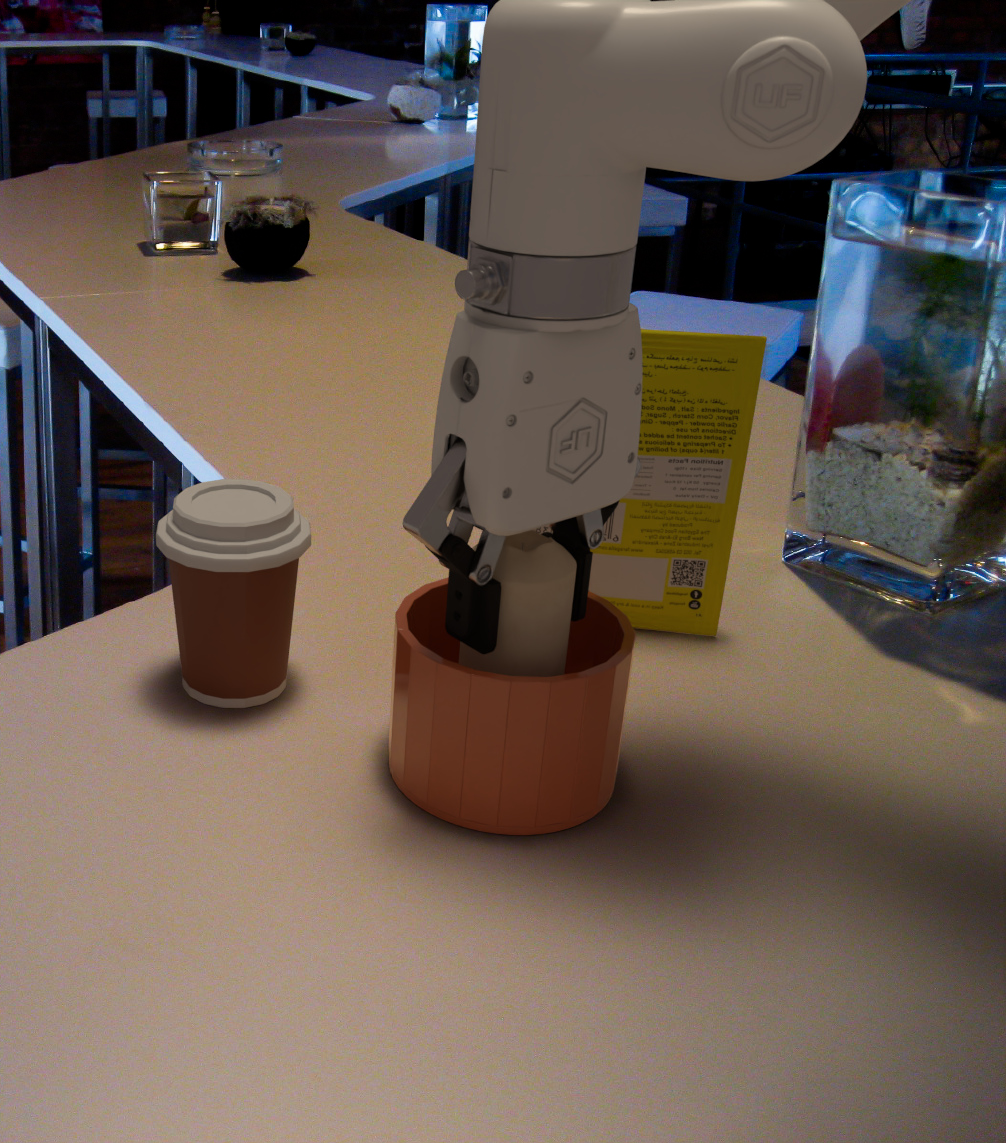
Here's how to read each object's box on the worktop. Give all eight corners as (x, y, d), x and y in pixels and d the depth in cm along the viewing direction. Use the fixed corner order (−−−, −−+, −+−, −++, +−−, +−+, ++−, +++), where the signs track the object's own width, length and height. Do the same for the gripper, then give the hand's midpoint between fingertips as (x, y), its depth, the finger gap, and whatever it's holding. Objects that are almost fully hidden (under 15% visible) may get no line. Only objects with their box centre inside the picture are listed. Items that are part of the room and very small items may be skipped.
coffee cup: (295, 728, 77) (298, 538, 72) (142, 711, 79) (135, 524, 74) (319, 652, 85) (323, 477, 80) (180, 639, 87) (176, 466, 82)
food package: (715, 632, 88) (766, 334, 79) (716, 640, 87) (768, 339, 78) (479, 609, 91) (503, 319, 82) (478, 616, 90) (502, 324, 81)
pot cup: (504, 689, 81) (517, 554, 77) (662, 785, 72) (686, 638, 68) (344, 750, 75) (349, 608, 71) (494, 864, 66) (509, 707, 62)
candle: (580, 703, 72) (601, 533, 67) (521, 743, 68) (539, 566, 64) (495, 667, 75) (509, 504, 71) (435, 704, 72) (446, 534, 67)
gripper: (462, 326, 55) (436, 705, 63) (736, 272, 63) (683, 612, 71) (350, 289, 60) (339, 642, 68) (615, 244, 69) (579, 562, 77)
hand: (515, 623), depth 70 cm, fingers closed on candle, 5 cm apart
